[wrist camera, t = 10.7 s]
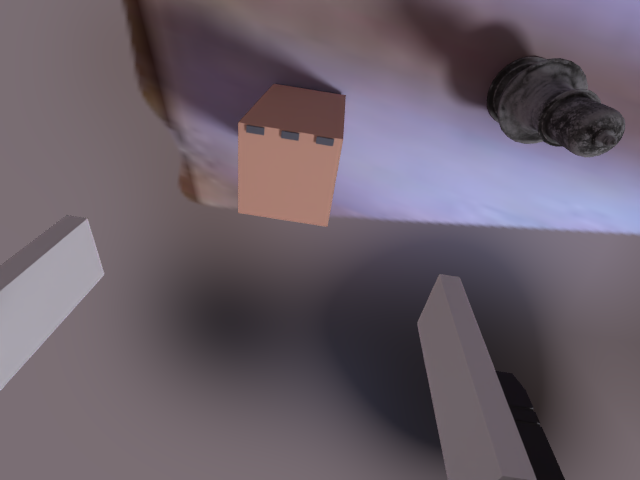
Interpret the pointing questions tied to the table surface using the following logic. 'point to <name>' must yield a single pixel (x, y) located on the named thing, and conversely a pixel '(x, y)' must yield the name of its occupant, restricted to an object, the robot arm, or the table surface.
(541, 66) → the dark rounded upright piece
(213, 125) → the table surface
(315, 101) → the stub
